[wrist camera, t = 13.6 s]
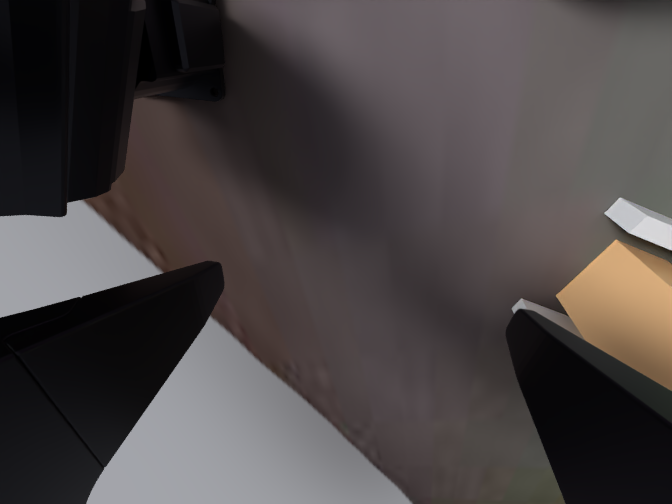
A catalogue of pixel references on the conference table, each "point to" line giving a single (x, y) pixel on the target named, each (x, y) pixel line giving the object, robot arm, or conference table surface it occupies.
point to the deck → (635, 223)
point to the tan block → (626, 308)
